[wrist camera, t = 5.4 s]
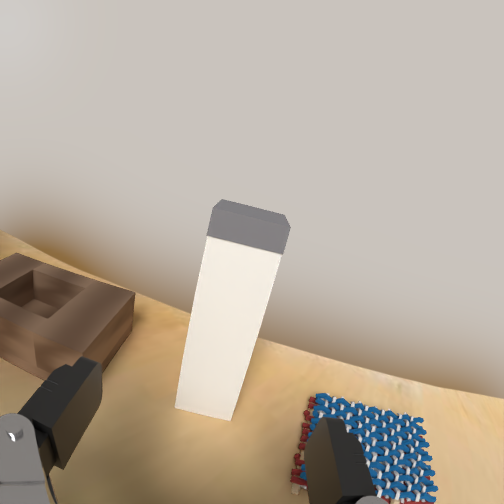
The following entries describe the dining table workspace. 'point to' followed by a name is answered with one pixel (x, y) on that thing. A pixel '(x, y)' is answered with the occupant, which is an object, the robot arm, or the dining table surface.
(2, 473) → the robot arm
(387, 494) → the woven mat
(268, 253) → the grey-capped white post
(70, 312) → the brown square socket block
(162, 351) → the dining table surface
